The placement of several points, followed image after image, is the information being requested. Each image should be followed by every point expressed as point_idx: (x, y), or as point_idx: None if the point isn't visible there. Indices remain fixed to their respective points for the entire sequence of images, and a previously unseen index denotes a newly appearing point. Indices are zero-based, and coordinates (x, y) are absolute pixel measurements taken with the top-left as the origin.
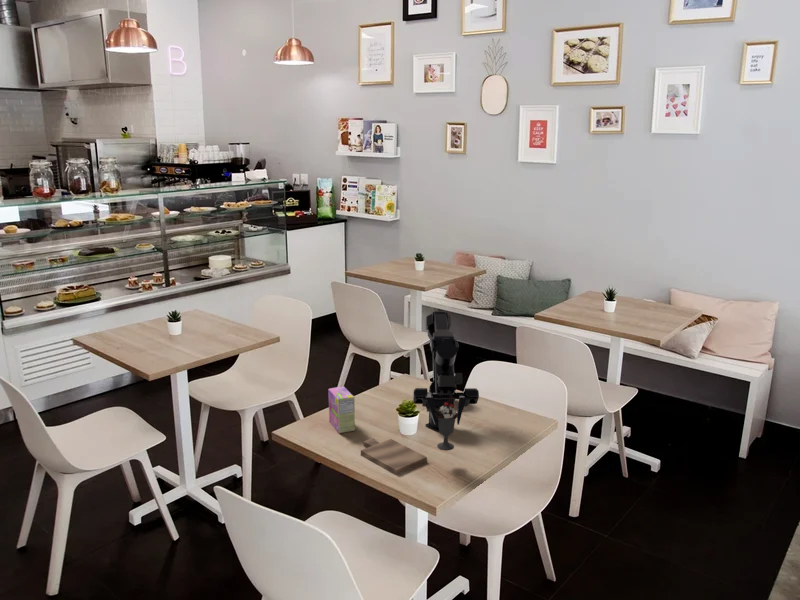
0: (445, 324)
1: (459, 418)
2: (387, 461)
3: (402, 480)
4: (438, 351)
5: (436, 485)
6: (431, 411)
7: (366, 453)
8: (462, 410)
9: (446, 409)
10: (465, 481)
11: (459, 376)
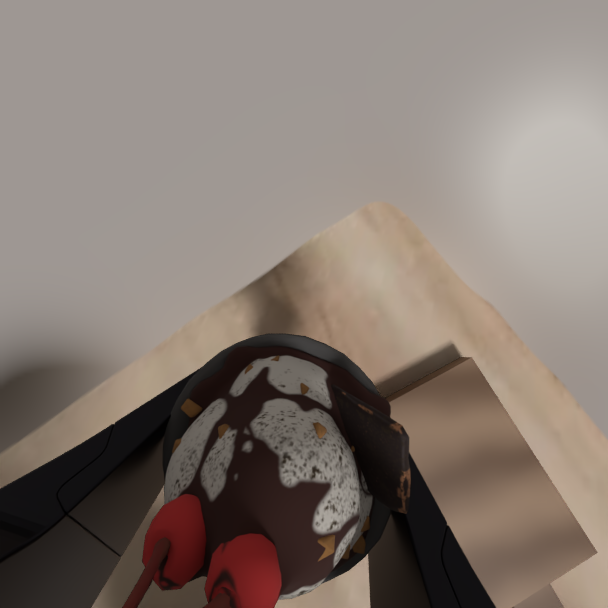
0: None
1: (185, 382)
2: (495, 425)
3: (446, 322)
4: None
5: (359, 276)
6: (449, 529)
7: (572, 515)
8: (92, 437)
9: (291, 428)
10: (278, 277)
11: None
